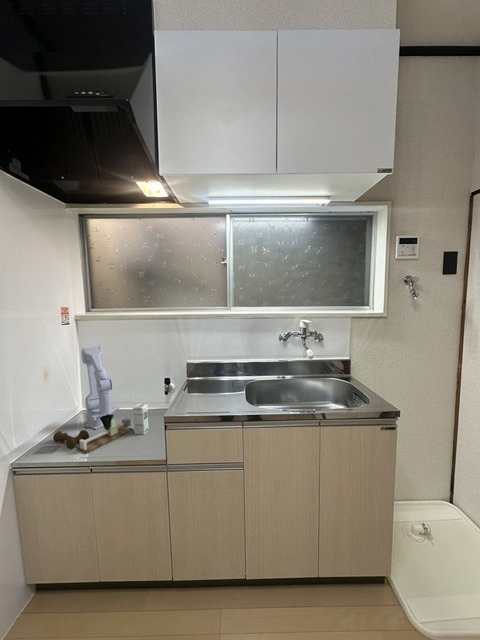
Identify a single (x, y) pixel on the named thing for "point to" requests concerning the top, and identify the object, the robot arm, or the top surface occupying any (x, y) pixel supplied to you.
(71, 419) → the top surface
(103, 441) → the board
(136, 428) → the syrup box
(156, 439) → the top surface
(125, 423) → the linear slide rail
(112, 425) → the sleeve
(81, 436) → the kendama
